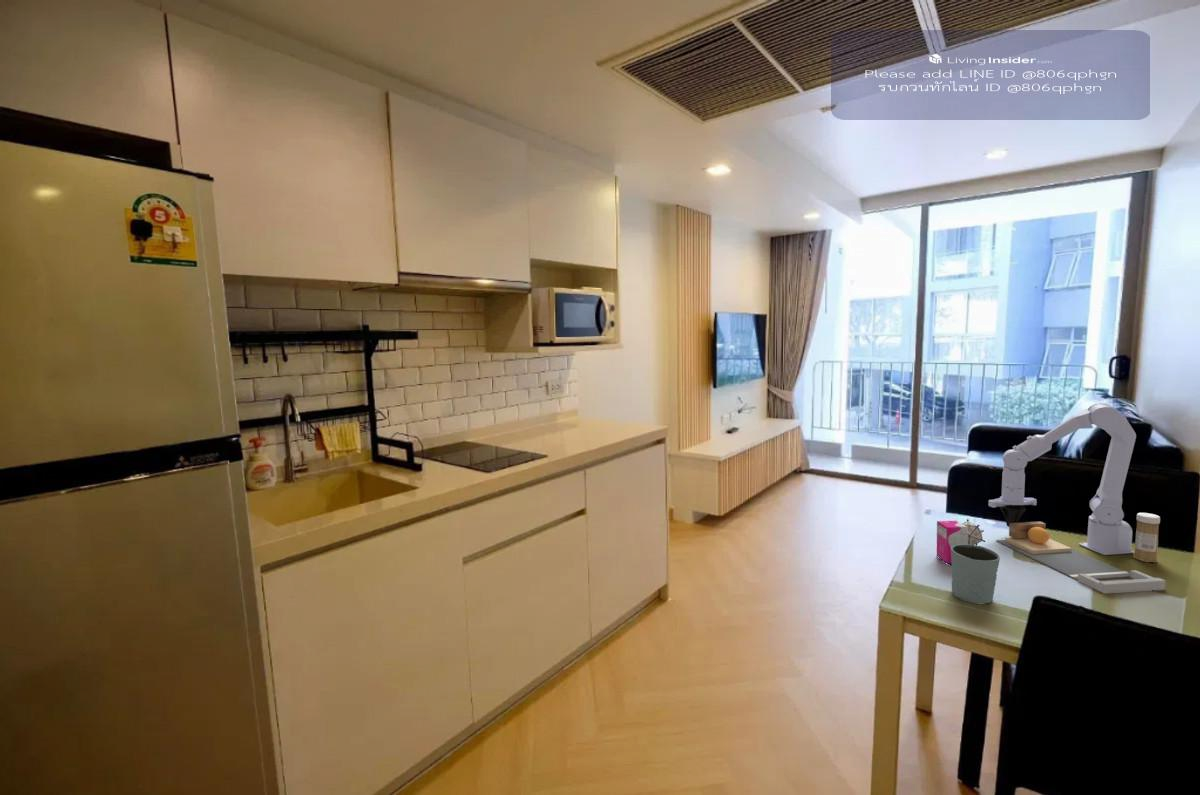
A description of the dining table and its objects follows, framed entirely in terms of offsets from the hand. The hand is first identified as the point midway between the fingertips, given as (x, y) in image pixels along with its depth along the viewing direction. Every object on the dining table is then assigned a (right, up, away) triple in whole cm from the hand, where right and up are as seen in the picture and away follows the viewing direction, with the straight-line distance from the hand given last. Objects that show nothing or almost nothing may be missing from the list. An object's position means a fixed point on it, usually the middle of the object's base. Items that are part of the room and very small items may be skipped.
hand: (1011, 527), depth 168 cm
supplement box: (-30, -6, -15) cm, 34 cm away
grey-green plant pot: (-38, -9, -35) cm, 53 cm away
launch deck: (+1, -5, -20) cm, 21 cm away
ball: (0, 0, -10) cm, 10 cm away
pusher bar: (0, -1, -6) cm, 6 cm away
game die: (-19, -5, -6) cm, 20 cm away
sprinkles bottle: (+22, -4, -21) cm, 30 cm away
